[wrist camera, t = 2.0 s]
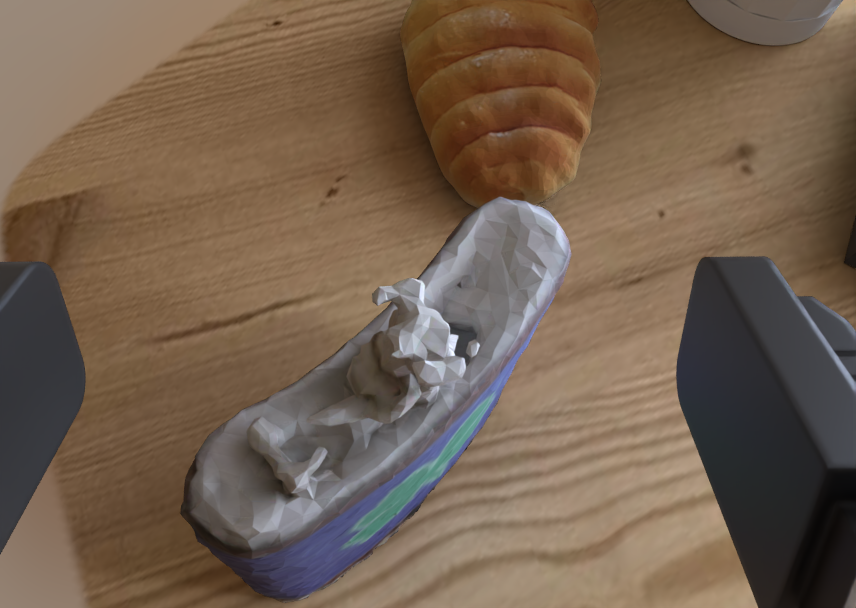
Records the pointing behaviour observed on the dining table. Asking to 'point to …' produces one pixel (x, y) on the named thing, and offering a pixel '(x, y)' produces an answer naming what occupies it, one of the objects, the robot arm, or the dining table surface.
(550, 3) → the pastry
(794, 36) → the cup
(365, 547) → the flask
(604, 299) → the dining table surface
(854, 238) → the scale
